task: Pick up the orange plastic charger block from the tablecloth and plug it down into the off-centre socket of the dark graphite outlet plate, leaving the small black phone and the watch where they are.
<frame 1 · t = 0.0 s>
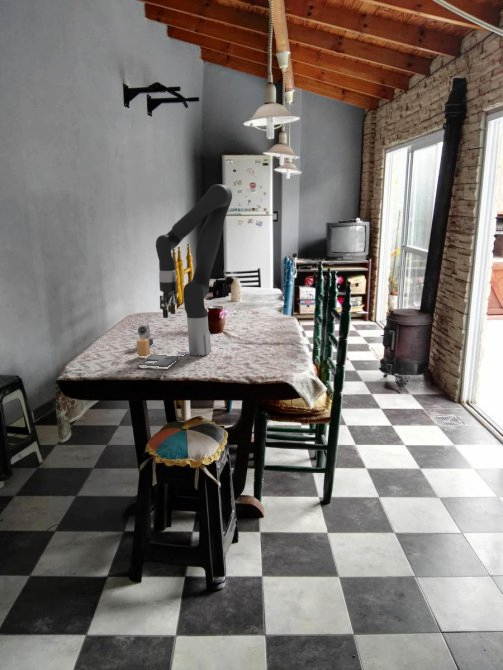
hand: (169, 315, 233), 17 cm above the table, tool pointing down, fingers open, 8 cm apart
charger: (144, 357, 231), on the table
watch: (146, 346, 249), on the table
outlet plate: (158, 364, 220), on the table
phone: (172, 355, 234), on the table
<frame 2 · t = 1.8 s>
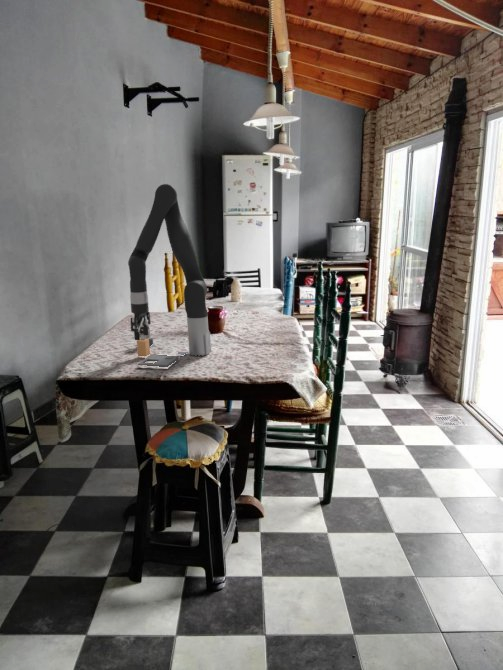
hand: (141, 337, 229), 9 cm above the table, tool pointing down, fingers open, 8 cm apart
nothing on the table moved.
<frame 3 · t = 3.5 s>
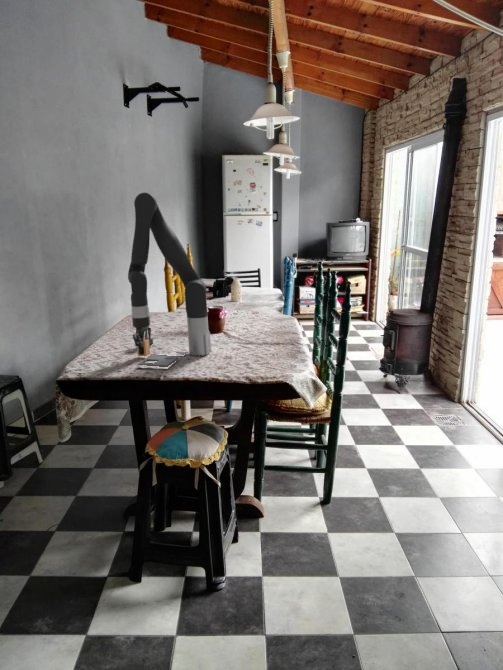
hand: (144, 352, 230), 2 cm above the table, tool pointing down, fingers closed on charger, 4 cm apart
charger: (144, 357, 231), on the table, touching gripper
everything else where it was.
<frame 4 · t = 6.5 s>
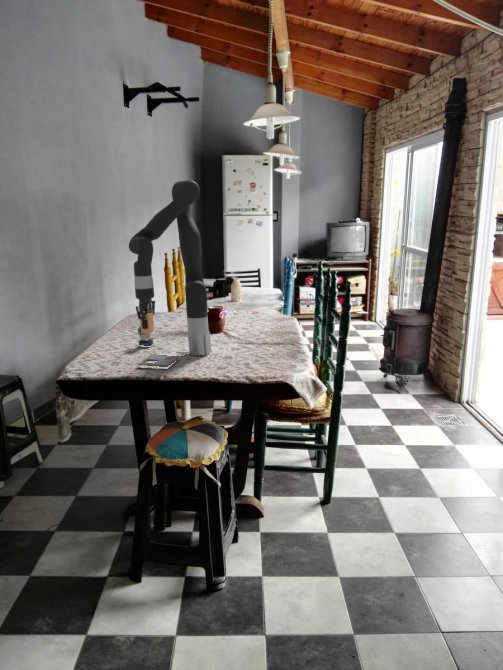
hand: (147, 327, 214), 17 cm above the table, tool pointing down, fingers closed on charger, 4 cm apart
charger: (147, 332, 215), point 15 cm above the table, touching gripper
everything else where it was.
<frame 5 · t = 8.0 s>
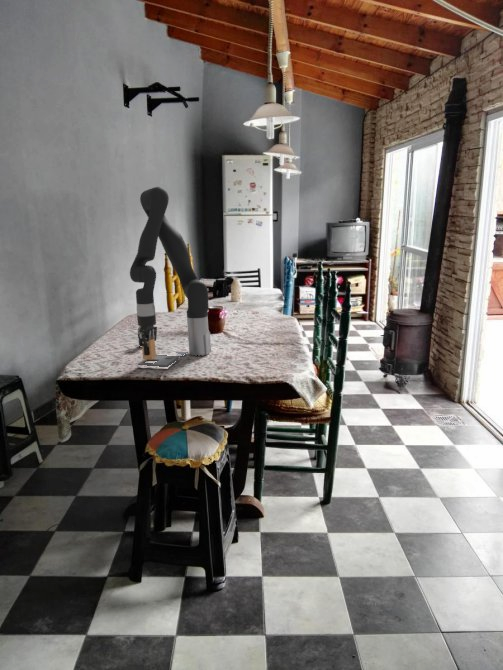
hand: (149, 353, 217), 5 cm above the table, tool pointing down, fingers closed on charger, 4 cm apart
charger: (149, 358, 217), point 3 cm above the table, touching gripper
everything else where it was.
when the fingers open (3 cm above the table, at t = 9.3 s): charger stays where it is, resting in outlet plate.
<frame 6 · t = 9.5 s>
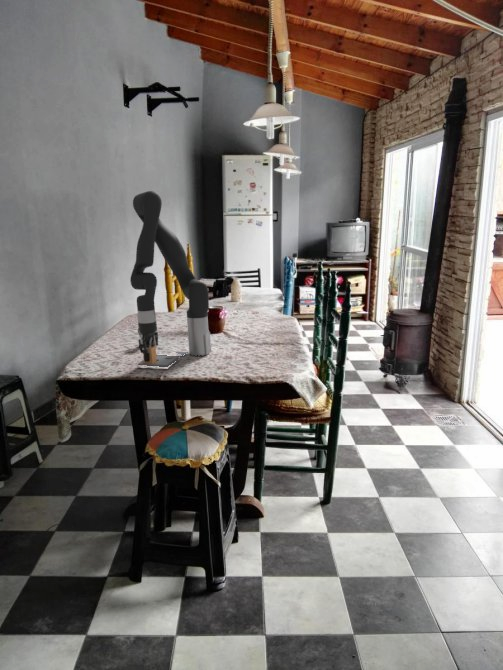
hand: (150, 359, 217), 3 cm above the table, tool pointing down, fingers open, 6 cm apart
charger: (150, 365, 218), resting in outlet plate
everything else where it was.
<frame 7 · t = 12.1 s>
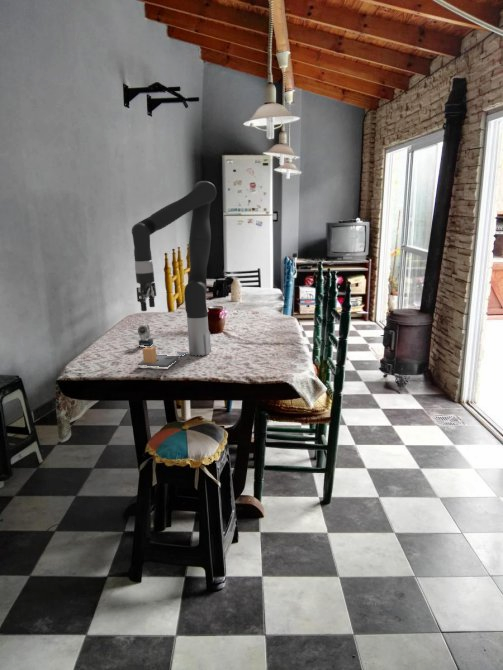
hand: (148, 309, 221), 23 cm above the table, tool pointing down, fingers open, 8 cm apart
nothing on the table moved.
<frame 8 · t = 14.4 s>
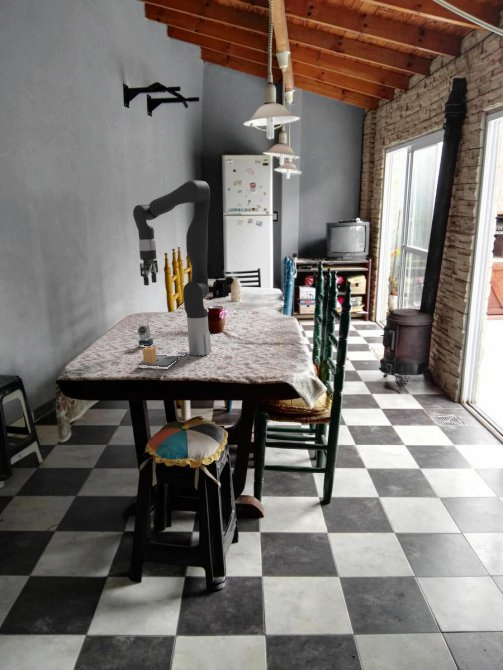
hand: (150, 283, 242), 30 cm above the table, tool pointing down, fingers open, 8 cm apart
nothing on the table moved.
at the end: charger 0.1 cm from the target spot on the outlet plate, point 0.0 cm above the outlet plate's base; charger tilted 0°; the gripper is holding nothing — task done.
